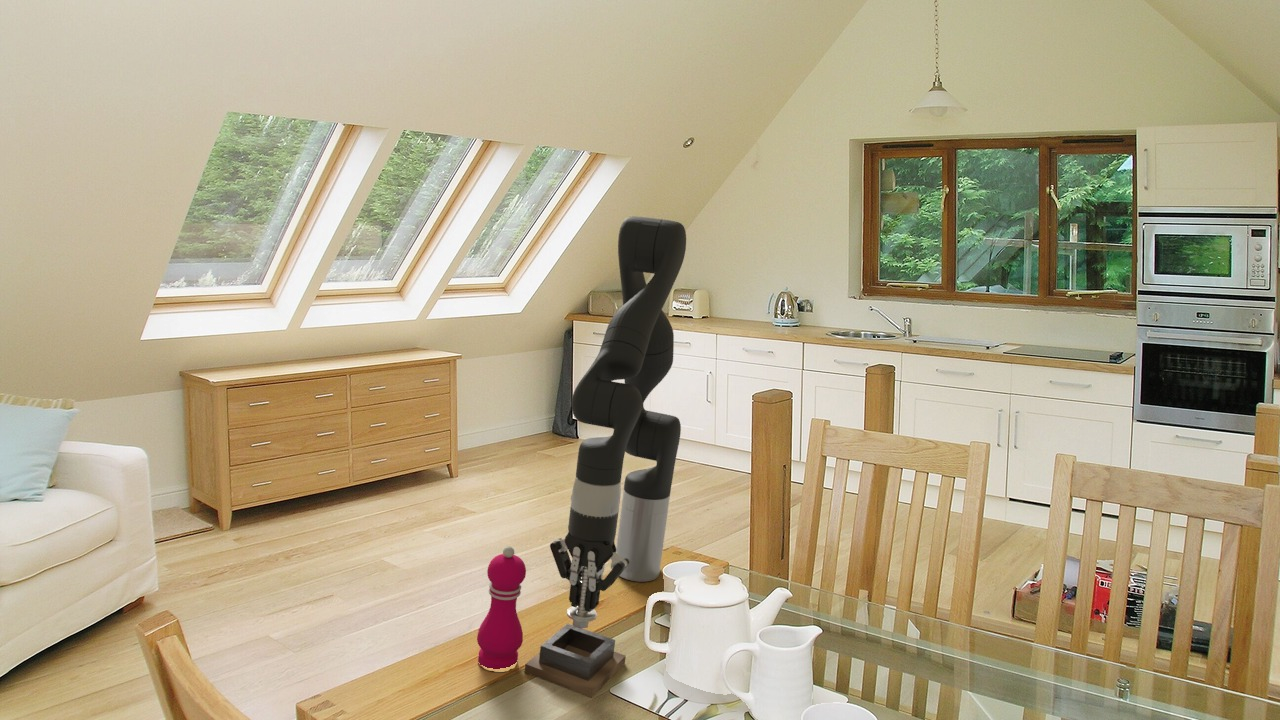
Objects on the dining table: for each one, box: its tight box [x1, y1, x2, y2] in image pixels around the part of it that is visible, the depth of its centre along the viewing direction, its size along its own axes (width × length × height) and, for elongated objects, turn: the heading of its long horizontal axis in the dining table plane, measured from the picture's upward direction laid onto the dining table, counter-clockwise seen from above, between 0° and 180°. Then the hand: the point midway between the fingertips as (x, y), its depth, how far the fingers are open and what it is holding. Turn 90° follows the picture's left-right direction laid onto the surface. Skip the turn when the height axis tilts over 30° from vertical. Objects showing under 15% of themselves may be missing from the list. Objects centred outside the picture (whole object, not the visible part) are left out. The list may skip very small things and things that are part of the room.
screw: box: [566, 566, 598, 629], centre depth 152 cm, size 13×5×5 cm
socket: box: [539, 623, 616, 681], centre depth 155 cm, size 9×9×3 cm
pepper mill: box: [476, 546, 527, 669], centre depth 152 cm, size 7×7×20 cm
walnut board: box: [524, 645, 627, 699], centre depth 155 cm, size 12×12×2 cm
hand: (582, 607), depth 153 cm, fingers closed on screw, 2 cm apart
